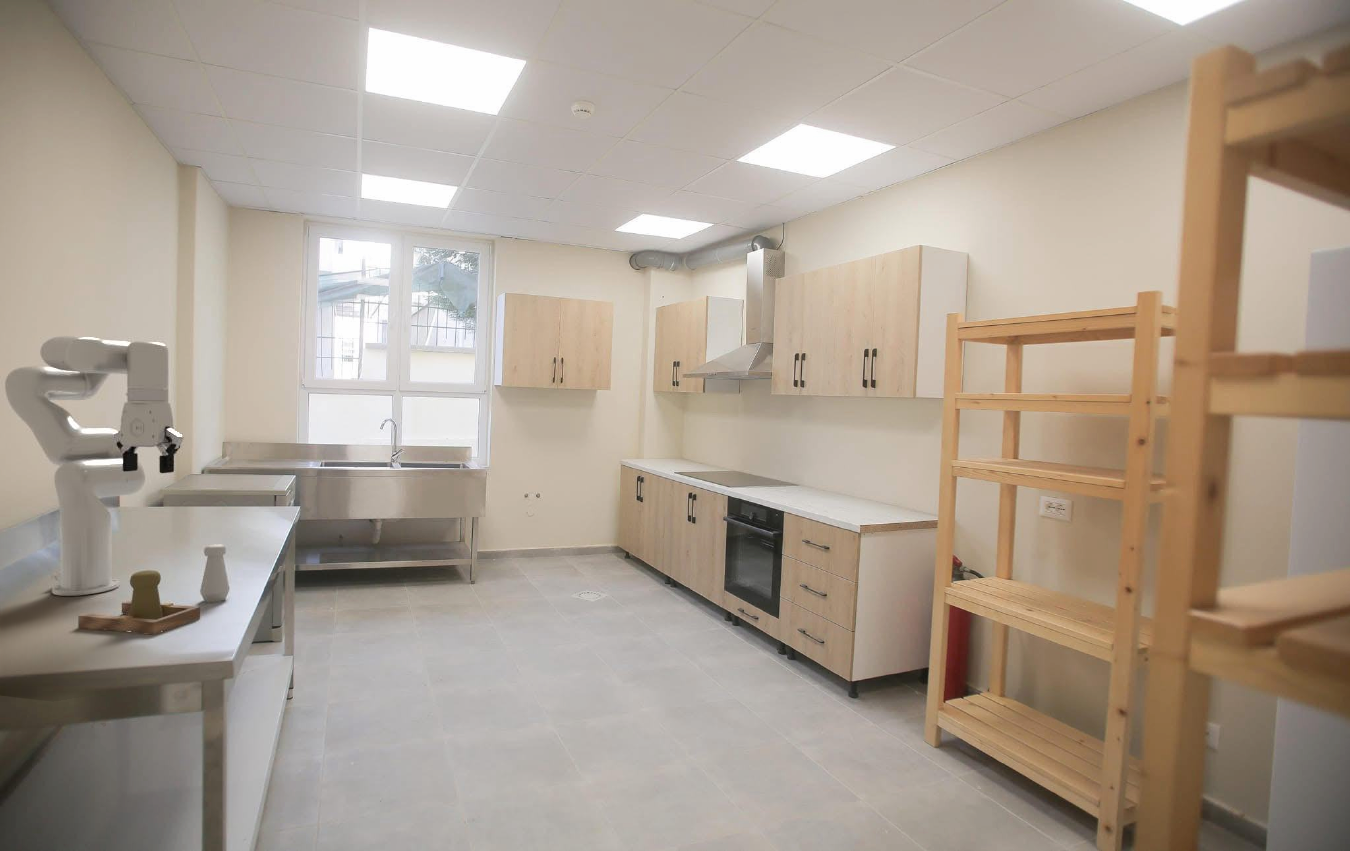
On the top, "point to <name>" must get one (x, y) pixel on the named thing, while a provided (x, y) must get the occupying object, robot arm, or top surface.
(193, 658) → the top surface
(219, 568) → the salt shaker
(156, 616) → the pepper shaker
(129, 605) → the wooden u-shaped frame
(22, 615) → the top surface
